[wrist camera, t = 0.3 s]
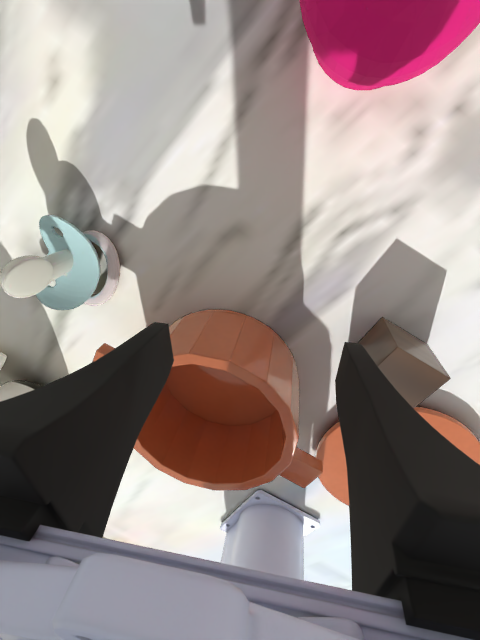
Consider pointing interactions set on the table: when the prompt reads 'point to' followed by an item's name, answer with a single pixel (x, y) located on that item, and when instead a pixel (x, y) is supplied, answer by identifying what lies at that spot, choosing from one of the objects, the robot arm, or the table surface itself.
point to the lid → (335, 459)
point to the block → (404, 361)
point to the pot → (227, 406)
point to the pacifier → (63, 268)
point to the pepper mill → (385, 37)
